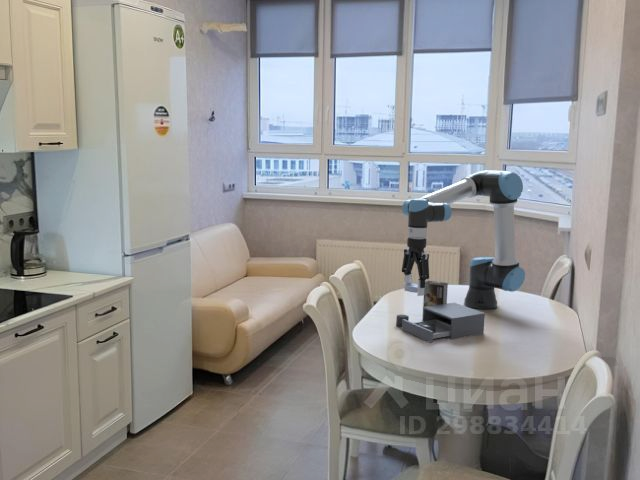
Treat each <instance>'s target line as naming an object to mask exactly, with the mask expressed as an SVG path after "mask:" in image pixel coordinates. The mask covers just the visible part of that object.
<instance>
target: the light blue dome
mask: <svg viewBox="0 0 640 480" xmlns="http://www.w3.org/2000/svg"><path fill="white" fill-rule="evenodd" d="M405 290H406V291H405ZM404 291H405V292H409V293H417V292H418V283H411V284H405V283H404Z"/></svg>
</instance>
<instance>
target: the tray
mask: <svg viewBox="0 0 640 480" xmlns="http://www.w3.org/2000/svg"><path fill="white" fill-rule="evenodd" d="M401 330H402V331H405V332H406V333H409V334H411V335H413V336H415V337H418V338H420V339H422V340H425V341H427V342H429V343H433V340H434V339H439V338H447V337H446V336H450V331H451V325H450V324H448V323H445V322H443V321H440V320H438V319H434V320H428V321H422V320H421V321H416V322H412V321H407V320H405V319H402V327H401Z"/></svg>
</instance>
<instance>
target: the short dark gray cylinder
mask: <svg viewBox="0 0 640 480" xmlns="http://www.w3.org/2000/svg"><path fill="white" fill-rule="evenodd" d="M395 319H396V320H395V321H396V322H395V325H396V327H398V328H402V319H405V320H407V321H409V319H410V318H409V315H407V314H396V318H395Z"/></svg>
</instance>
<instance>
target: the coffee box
mask: <svg viewBox="0 0 640 480" xmlns="http://www.w3.org/2000/svg"><path fill="white" fill-rule="evenodd" d="M448 284H449V283H448V282H443V281H436V280H426V281H425V288H424V295H423V300H422V301H423V303H422V308H423V307H427V306H434V305H440V304H447V303H448Z"/></svg>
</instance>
